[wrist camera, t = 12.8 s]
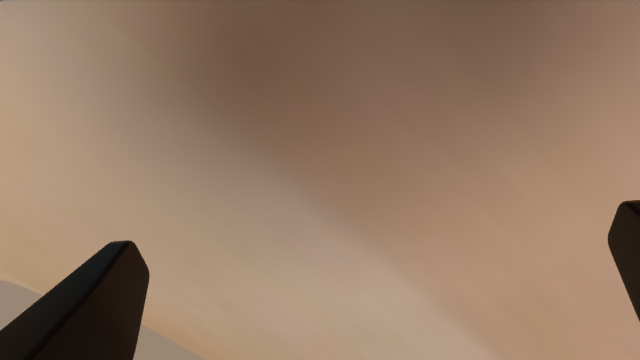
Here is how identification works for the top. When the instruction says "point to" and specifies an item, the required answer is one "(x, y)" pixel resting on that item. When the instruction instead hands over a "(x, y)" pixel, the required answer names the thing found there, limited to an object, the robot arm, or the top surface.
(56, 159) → the top surface
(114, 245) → the robot arm
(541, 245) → the top surface
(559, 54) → the top surface
